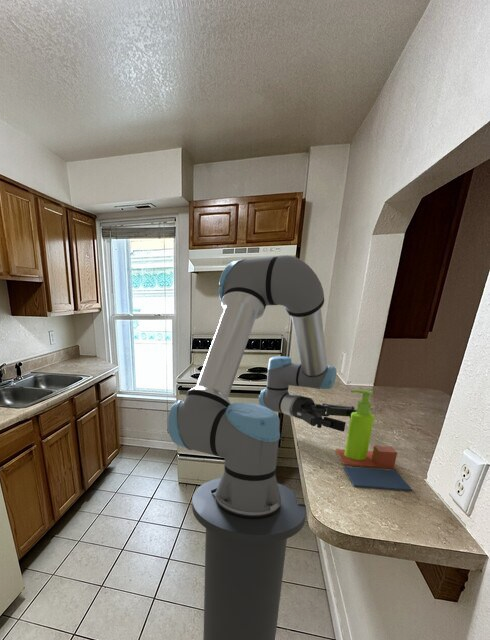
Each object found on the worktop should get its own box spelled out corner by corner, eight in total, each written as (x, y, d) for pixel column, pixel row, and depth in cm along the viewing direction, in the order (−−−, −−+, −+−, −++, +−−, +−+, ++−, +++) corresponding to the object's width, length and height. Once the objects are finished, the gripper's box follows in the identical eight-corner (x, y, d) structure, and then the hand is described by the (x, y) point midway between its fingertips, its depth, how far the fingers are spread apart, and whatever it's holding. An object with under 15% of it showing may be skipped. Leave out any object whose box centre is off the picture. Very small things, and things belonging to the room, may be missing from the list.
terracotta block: (376, 466, 99) (379, 451, 98) (371, 459, 103) (374, 445, 102) (394, 467, 98) (397, 452, 97) (388, 460, 102) (391, 446, 101)
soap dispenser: (345, 449, 110) (356, 387, 104) (369, 456, 106) (382, 390, 99) (337, 455, 107) (347, 390, 100) (361, 461, 102) (374, 394, 95)
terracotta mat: (344, 465, 101) (344, 463, 101) (335, 450, 111) (335, 449, 111) (394, 468, 99) (394, 467, 98) (380, 453, 109) (381, 451, 108)
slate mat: (354, 486, 90) (354, 484, 89) (343, 468, 100) (344, 466, 99) (411, 491, 87) (412, 489, 87) (395, 471, 97) (395, 470, 97)
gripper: (320, 411, 127) (379, 426, 110) (271, 423, 115) (329, 443, 98) (322, 390, 125) (384, 403, 108) (273, 401, 113) (333, 417, 96)
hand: (358, 422), depth 103 cm, fingers open, 13 cm apart
